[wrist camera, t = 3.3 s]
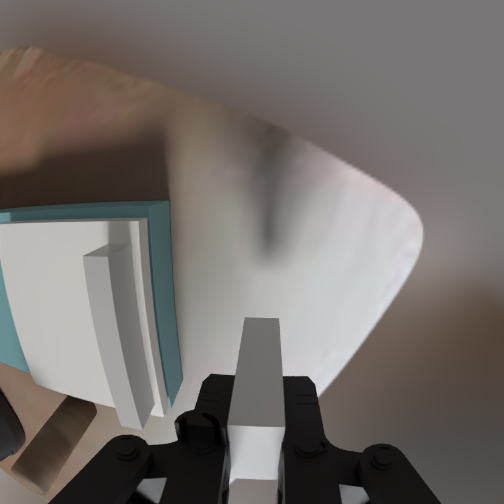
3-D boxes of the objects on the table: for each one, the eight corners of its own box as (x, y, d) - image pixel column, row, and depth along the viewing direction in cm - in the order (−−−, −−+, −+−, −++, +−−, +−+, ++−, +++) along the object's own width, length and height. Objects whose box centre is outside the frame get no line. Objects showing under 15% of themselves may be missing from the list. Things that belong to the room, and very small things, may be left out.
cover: (42, 376, 16) (18, 401, 13) (6, 221, 14) (-31, 232, 11) (168, 406, 16) (153, 443, 13) (147, 217, 13) (114, 230, 10)
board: (-6, 337, 20) (-25, 351, 17) (-31, 212, 17) (-56, 218, 14) (182, 380, 19) (170, 409, 16) (169, 200, 16) (148, 206, 13)
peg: (74, 412, 22) (23, 485, 12) (64, 388, 21) (4, 461, 11) (100, 420, 21) (52, 500, 12) (91, 396, 21) (33, 478, 11)
